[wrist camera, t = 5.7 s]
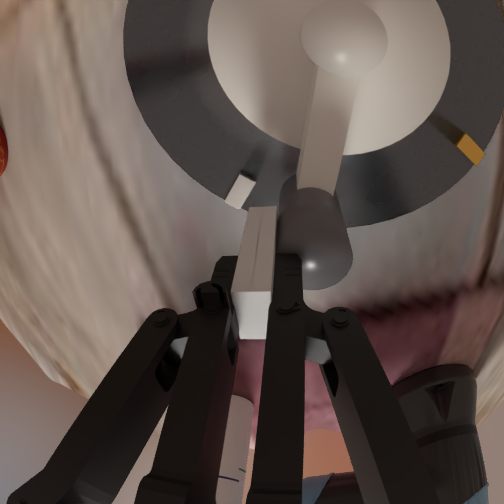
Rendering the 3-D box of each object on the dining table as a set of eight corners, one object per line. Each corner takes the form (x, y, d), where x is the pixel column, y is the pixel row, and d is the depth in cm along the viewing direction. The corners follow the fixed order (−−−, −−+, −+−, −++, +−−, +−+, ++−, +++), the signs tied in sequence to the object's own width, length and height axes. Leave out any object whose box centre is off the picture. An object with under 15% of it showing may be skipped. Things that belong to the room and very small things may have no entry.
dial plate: (536, 39, 12) (553, 41, 10) (370, 265, 26) (375, 282, 25) (244, -148, 7) (240, -161, 5) (91, 123, 21) (75, 131, 19)
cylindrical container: (225, 388, 41) (194, 561, 21) (263, 407, 43) (245, 565, 23) (197, 401, 45) (165, 551, 24) (234, 418, 47) (211, 559, 27)
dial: (225, -71, 11) (189, -124, 5) (452, -21, 10) (523, -37, 4) (201, 199, 22) (166, 268, 16) (394, 229, 22) (427, 304, 15)
